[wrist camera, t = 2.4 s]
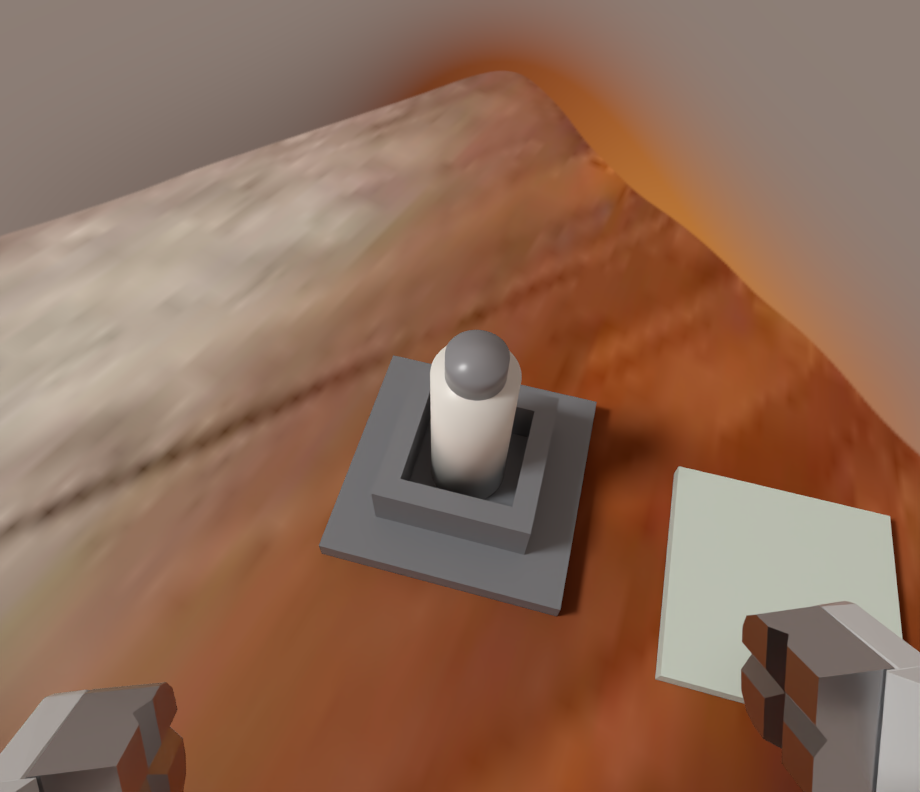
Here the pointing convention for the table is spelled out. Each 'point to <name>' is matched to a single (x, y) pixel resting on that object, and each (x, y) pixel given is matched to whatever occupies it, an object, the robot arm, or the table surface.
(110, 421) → the table surface
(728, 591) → the sage mat
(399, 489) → the socket block
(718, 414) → the table surface
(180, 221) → the table surface
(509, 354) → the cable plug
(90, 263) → the table surface
